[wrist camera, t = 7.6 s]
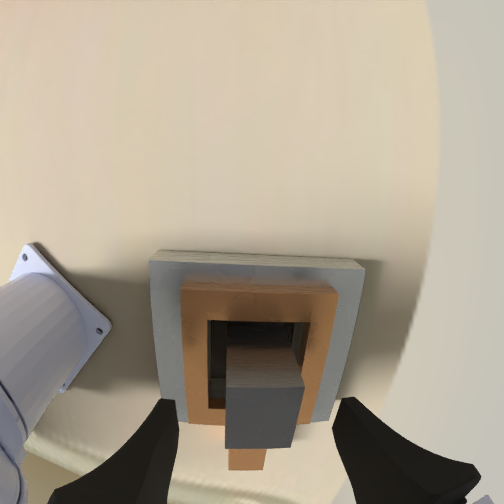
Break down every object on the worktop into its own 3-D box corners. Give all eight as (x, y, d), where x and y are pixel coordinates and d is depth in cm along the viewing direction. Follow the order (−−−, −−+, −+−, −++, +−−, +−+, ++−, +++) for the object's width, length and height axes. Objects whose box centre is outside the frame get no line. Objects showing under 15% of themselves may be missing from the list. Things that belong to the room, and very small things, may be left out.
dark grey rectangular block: (272, 365, 18) (290, 447, 11) (226, 364, 18) (224, 448, 11) (279, 310, 17) (305, 386, 10) (227, 308, 17) (226, 387, 10)
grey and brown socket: (310, 439, 20) (318, 465, 17) (175, 438, 19) (170, 465, 17) (352, 258, 17) (373, 275, 14) (158, 250, 16) (143, 265, 13)
